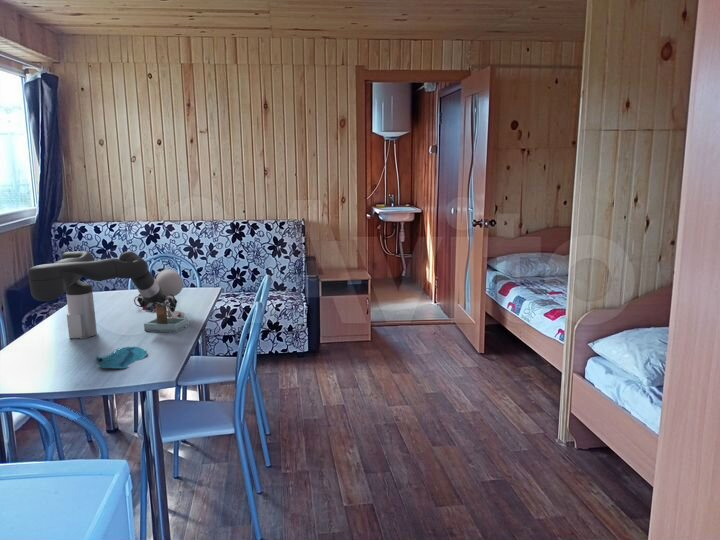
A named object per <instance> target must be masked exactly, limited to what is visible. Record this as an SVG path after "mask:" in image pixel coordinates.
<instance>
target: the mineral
mask: <svg viewBox="0 0 720 540" xmlns="http://www.w3.org/2000/svg"><path fill="white" fill-rule="evenodd" d="M119 349H120V348H119ZM116 350H117V349H116ZM108 355H109V356H108ZM108 355H105V356H106V357H105V356H104V357H99V356H98V355H97V356H96V357H95V359H96V360H98V361H100V360H102V361H100V362H99V363H97V366H98V367H100V368H101V369H103V368H104V369H129V368H130V367H129V366H130V365H131V364H134V363H135V362H139V361H142V360H143V359H144V358H145V357H146V356H147V355H148V353H147V350H146V349H144V348H142V347H140V346H139V347H138V346H125V347H122V348H121V349H120V350H117V351H116V352H115V353H113V352H112V354H111V355H110V354H108Z"/></svg>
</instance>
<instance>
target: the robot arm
mask: <svg viewBox="0 0 720 540" xmlns="http://www.w3.org/2000/svg"><path fill="white" fill-rule="evenodd" d="M94 257H95V256H93V254H92V253H91V252H89V251H85V250H84V251H83V250H82V251H65V252H63V253H62V255H61V259H59V260H57V261H55V262H54V263H53V262H52V263H44V264H39V265H35V266H32V267H30V268H28V271H27V273H28V274H27V275H28V283H29V289H30V290H29V291H30V295H31V297H32V298H33V299H34V300H36V301H39V302H50V301H54V300H56V299H59V298H60V297H62V296H63V295H64V294H65V295H66V305H67V312H68V313H67V314H66V321H67V322H66V323H67V329H68V338H69V337H70V338H69V339H77V338H80V339H79V340H81V339H82V340H83V338H84V339H87V338H91V336H92V337H94V336H96V335H97V334H98V330H97V321H96V320H97V319H96V311H95V301H94V293H93V291H94V290H93V286H92V284H91V283H90V282H86V281H82V280H81V279H82V278H85V279H88V280H91V281H93V282H95V281H96V282H101V281H102V282H103V281H108V280H112V279H117V278H118V279H130V280H131V281H132V282H133V284H134V286H135V287H136V289H137V292H138V293H139V294H138V295H137V296H138V297H137V298H136V301H137V302H138V305H139V306H141V307H140V308H142V307H144V306H146V308H148V309H149V310H148V311H149V312H151V313H153V312H155V309H154V306H153V305H152V304H154V305H156V304H159V305H163V306H166V308H167V307H169V308H170V310H171V311H172V312H174V311H176V309H177V303H178V300H177V299H176V296H173V295H172V294H170V296H166V295H164V294H163V291H162V289H161V287H160V286H159V284H158V283H157V281H156V278H155V277H154V276H153V274H152V273H151V271H150V270H149V265H148V263H147V262H146V260H144V259H143V258H142V257H141V256H140V255H139V254H137V253H135V252H134V251H124V252H123V253H121V255H120V256H119V259H118V258H116V257H109V258H104V259H103V258H102V259H98V260H95V258H94ZM145 301H146V302H145ZM164 301H165V303H164ZM168 302H169V303H170V305H169V304H168Z"/></svg>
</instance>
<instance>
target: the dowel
mask: <svg viewBox="0 0 720 540" xmlns="http://www.w3.org/2000/svg"><path fill="white" fill-rule="evenodd" d="M164 303H165V301H164ZM155 311H156V318H157V324H168V320H167V311H168V309H167V306H163V305H159V304H156V309H155Z"/></svg>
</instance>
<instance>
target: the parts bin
mask: <svg viewBox="0 0 720 540" xmlns="http://www.w3.org/2000/svg"><path fill="white" fill-rule="evenodd" d="M167 320H168V324H157V317H154V318H153V319H149V321H146V322H145V323H143V329H144V331H146V332H156V333H157V332H159V333H161V332H162V333H163V332H164V333H174V332H175V333H178V332H180V331H181V329H182V328H183V329H185V328H187V327H189V326H190V325H189V318H185V317H184V318H176V320H175V321H172V318H168V317H167ZM188 325H189V326H188ZM186 326H187V327H186ZM184 327H185V328H184ZM183 329H182V330H183ZM179 330H180V331H179Z"/></svg>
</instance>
